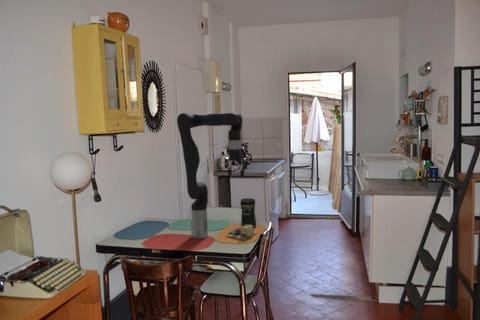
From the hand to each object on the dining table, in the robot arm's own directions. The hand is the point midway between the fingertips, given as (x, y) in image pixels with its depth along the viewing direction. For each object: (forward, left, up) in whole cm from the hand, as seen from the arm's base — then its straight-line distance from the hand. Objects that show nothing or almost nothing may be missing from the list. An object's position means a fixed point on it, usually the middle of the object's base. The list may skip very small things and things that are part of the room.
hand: (236, 176), depth 229 cm
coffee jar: (-11, +27, -38) cm, 48 cm away
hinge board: (-4, +9, -38) cm, 39 cm away
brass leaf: (0, +9, -37) cm, 38 cm away
